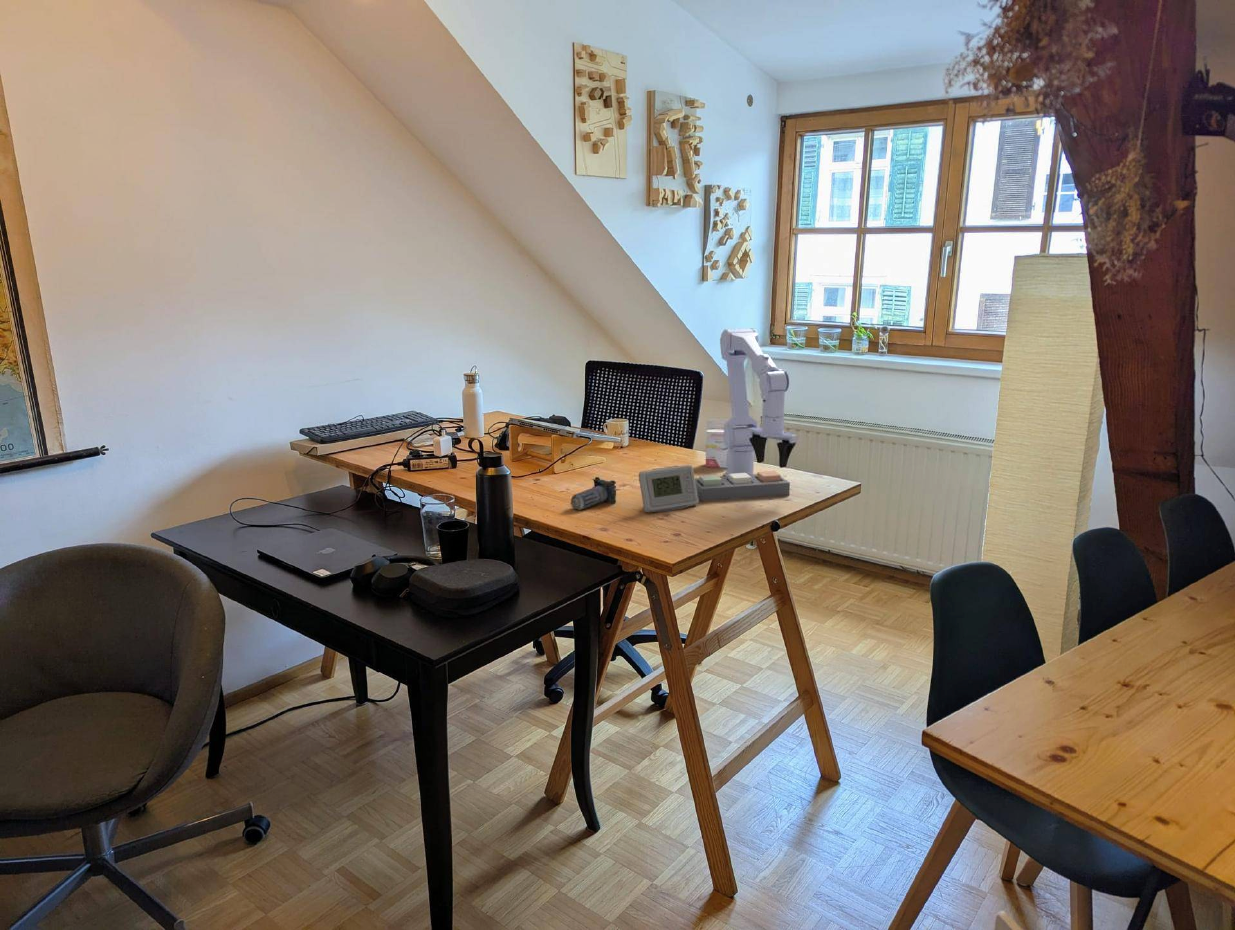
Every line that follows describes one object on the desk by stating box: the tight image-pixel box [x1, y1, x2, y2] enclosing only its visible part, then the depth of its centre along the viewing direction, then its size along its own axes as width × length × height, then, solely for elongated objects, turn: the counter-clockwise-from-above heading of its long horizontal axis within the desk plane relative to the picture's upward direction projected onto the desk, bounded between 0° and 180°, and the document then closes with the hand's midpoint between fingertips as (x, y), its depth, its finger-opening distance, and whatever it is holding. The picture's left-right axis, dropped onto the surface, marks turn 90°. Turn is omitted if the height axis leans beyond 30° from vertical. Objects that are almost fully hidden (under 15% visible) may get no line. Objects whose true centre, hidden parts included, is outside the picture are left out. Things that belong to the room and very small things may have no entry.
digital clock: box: [638, 464, 699, 514], centre depth 209 cm, size 16×9×11 cm, turn 103°
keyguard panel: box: [694, 473, 791, 502], centre depth 221 cm, size 11×25×4 cm, turn 100°
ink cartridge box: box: [705, 419, 729, 468], centre depth 250 cm, size 9×5×15 cm, turn 84°
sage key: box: [698, 474, 722, 486], centre depth 219 cm, size 5×5×2 cm
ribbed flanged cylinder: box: [570, 476, 617, 510], centre depth 212 cm, size 9×8×12 cm
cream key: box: [728, 473, 751, 484], centre depth 221 cm, size 5×5×2 cm
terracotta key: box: [756, 470, 782, 482], centre depth 222 cm, size 5×5×2 cm
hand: (771, 464), depth 216 cm, fingers open, 7 cm apart
